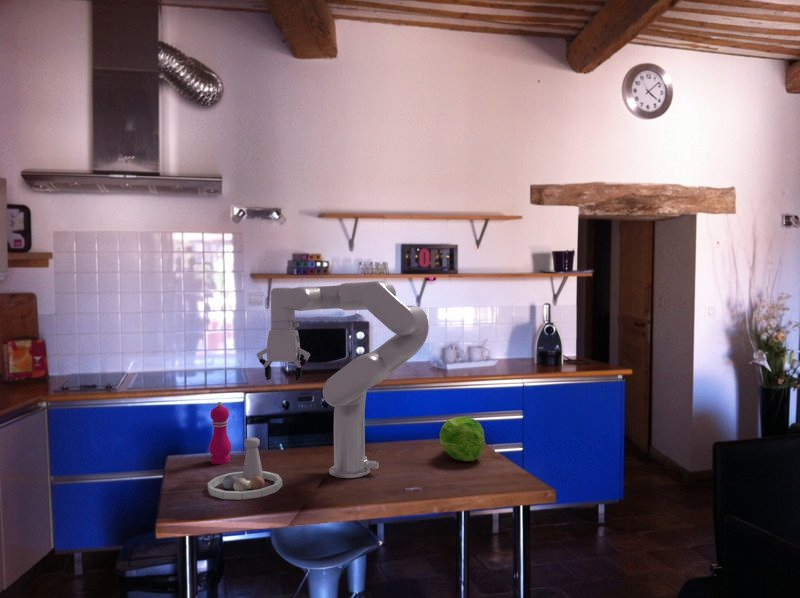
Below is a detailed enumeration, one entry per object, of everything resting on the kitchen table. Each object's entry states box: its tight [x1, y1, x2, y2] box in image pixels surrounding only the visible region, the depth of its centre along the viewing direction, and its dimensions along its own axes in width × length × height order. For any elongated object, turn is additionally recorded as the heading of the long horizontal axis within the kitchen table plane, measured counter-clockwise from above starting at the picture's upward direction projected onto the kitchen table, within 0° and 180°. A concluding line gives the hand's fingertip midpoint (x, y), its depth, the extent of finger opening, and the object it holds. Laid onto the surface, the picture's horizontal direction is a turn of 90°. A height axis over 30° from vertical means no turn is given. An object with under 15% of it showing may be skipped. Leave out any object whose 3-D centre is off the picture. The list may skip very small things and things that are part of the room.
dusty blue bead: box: [222, 475, 237, 491], centre depth 183 cm, size 4×4×4 cm
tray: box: [207, 470, 283, 500], centre depth 184 cm, size 20×20×3 cm
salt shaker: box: [242, 437, 263, 481], centre depth 189 cm, size 6×6×13 cm
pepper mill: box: [208, 401, 233, 465], centre depth 215 cm, size 7×7×20 cm
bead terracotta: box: [250, 476, 265, 490], centre depth 183 cm, size 4×4×4 cm
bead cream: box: [233, 478, 248, 492], centre depth 181 cm, size 4×4×4 cm
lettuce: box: [439, 416, 486, 462], centre depth 220 cm, size 15×22×15 cm
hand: (283, 379), depth 208 cm, fingers open, 9 cm apart
